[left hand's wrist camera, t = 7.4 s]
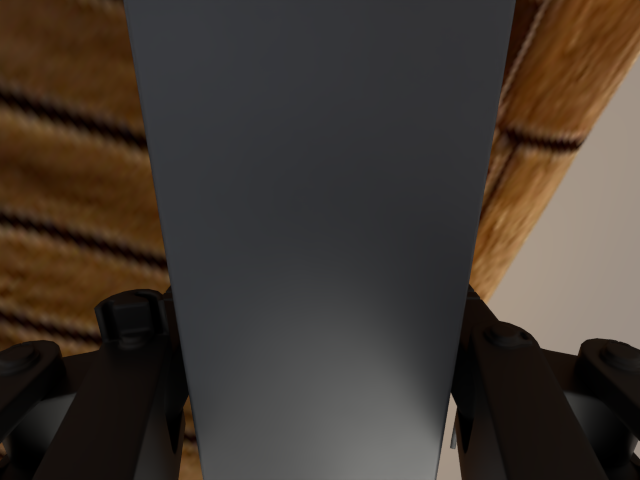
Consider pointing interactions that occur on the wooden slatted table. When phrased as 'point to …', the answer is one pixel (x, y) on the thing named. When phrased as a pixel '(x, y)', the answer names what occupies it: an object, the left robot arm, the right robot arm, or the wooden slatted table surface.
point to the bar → (319, 219)
